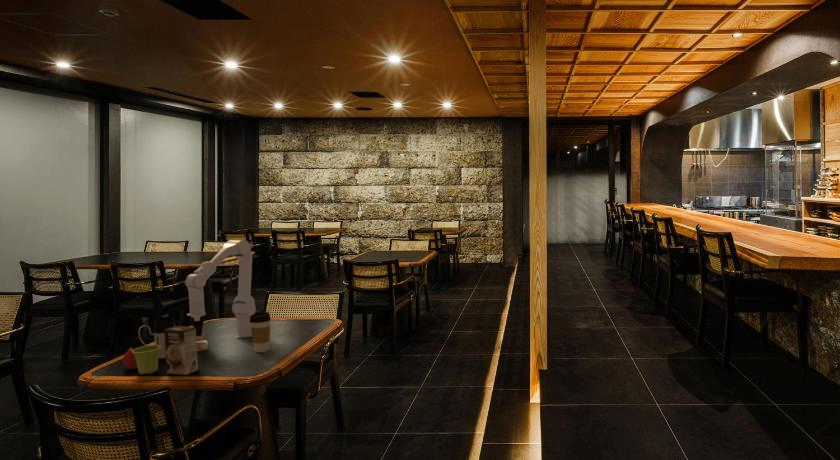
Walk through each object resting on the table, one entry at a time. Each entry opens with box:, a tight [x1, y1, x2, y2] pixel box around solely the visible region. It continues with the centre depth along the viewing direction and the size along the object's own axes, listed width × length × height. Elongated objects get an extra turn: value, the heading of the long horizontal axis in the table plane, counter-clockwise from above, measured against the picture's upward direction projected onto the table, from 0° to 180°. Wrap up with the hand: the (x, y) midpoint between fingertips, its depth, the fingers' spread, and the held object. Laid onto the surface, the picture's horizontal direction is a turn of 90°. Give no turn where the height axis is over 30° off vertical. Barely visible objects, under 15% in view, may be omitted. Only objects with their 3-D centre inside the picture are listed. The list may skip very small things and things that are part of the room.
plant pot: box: [132, 344, 161, 375], centre depth 196 cm, size 9×9×9 cm
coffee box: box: [164, 325, 199, 376], centre depth 195 cm, size 9×6×16 cm
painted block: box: [196, 326, 205, 341], centre depth 225 cm, size 4×4×5 cm
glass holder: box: [137, 316, 176, 359], centre depth 216 cm, size 9×14×15 cm, turn 135°
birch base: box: [196, 339, 209, 352], centre depth 225 cm, size 6×6×3 cm
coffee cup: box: [249, 311, 272, 353], centre depth 219 cm, size 8×8×15 cm
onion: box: [122, 347, 137, 370], centre depth 201 cm, size 6×6×8 cm
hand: (198, 334), depth 225 cm, fingers closed on painted block, 4 cm apart
